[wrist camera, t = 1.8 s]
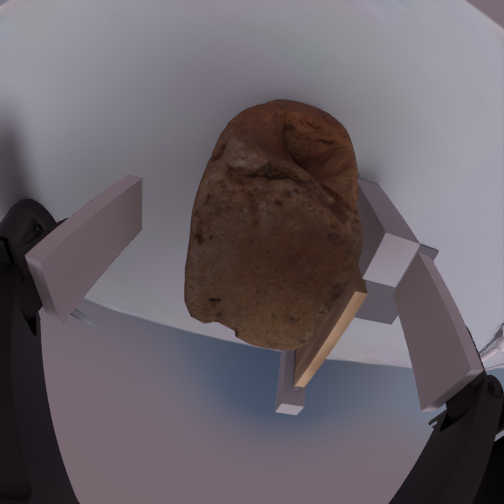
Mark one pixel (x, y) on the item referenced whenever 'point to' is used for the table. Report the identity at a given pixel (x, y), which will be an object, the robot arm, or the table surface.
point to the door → (328, 333)
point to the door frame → (363, 268)
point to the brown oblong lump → (275, 226)
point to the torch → (495, 351)
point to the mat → (386, 295)
